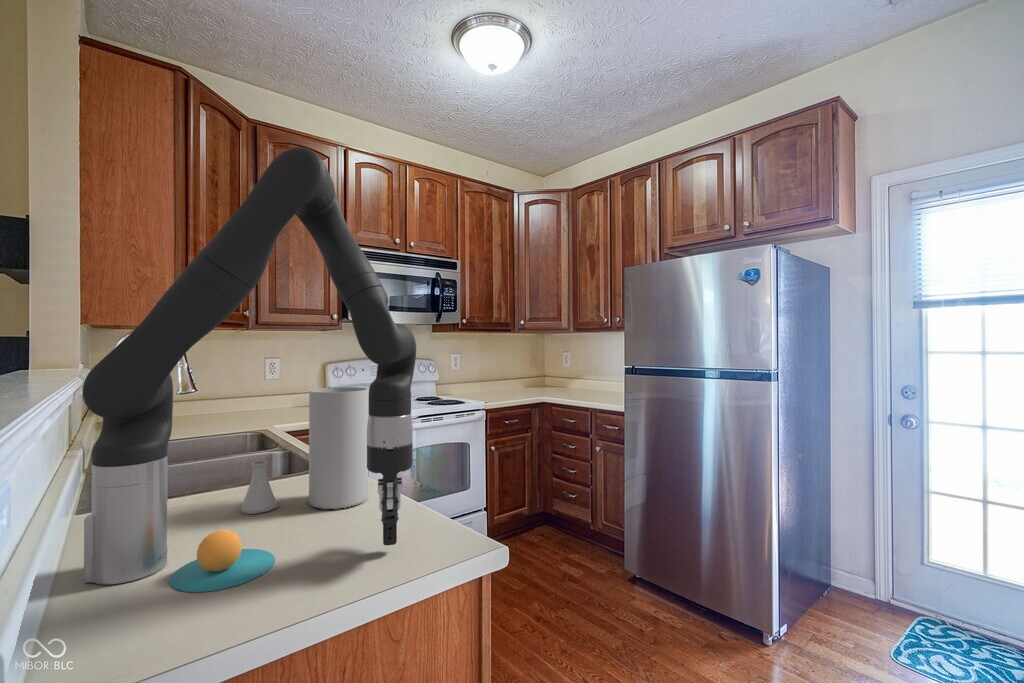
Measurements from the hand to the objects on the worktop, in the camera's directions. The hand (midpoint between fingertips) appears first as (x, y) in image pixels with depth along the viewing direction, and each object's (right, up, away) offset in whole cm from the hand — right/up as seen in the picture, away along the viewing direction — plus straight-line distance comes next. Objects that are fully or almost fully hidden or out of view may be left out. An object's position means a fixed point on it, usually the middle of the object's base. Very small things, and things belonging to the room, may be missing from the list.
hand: (389, 543), depth 81 cm
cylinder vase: (-18, -2, +26) cm, 32 cm away
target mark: (-24, -2, -6) cm, 25 cm away
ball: (-25, +1, -6) cm, 26 cm away
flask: (-33, -2, +21) cm, 40 cm away
